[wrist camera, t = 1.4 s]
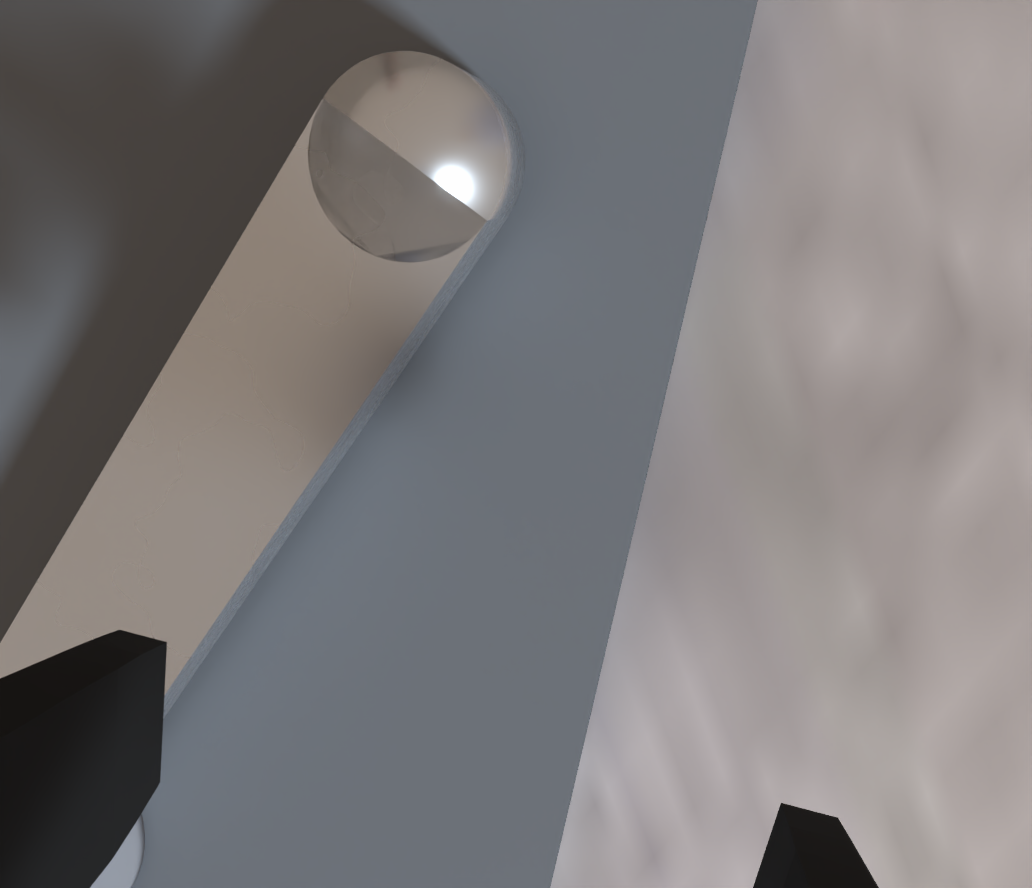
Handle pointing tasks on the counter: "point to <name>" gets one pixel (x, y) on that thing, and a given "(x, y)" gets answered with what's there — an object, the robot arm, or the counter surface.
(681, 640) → the counter surface
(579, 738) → the mat
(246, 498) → the swing link
